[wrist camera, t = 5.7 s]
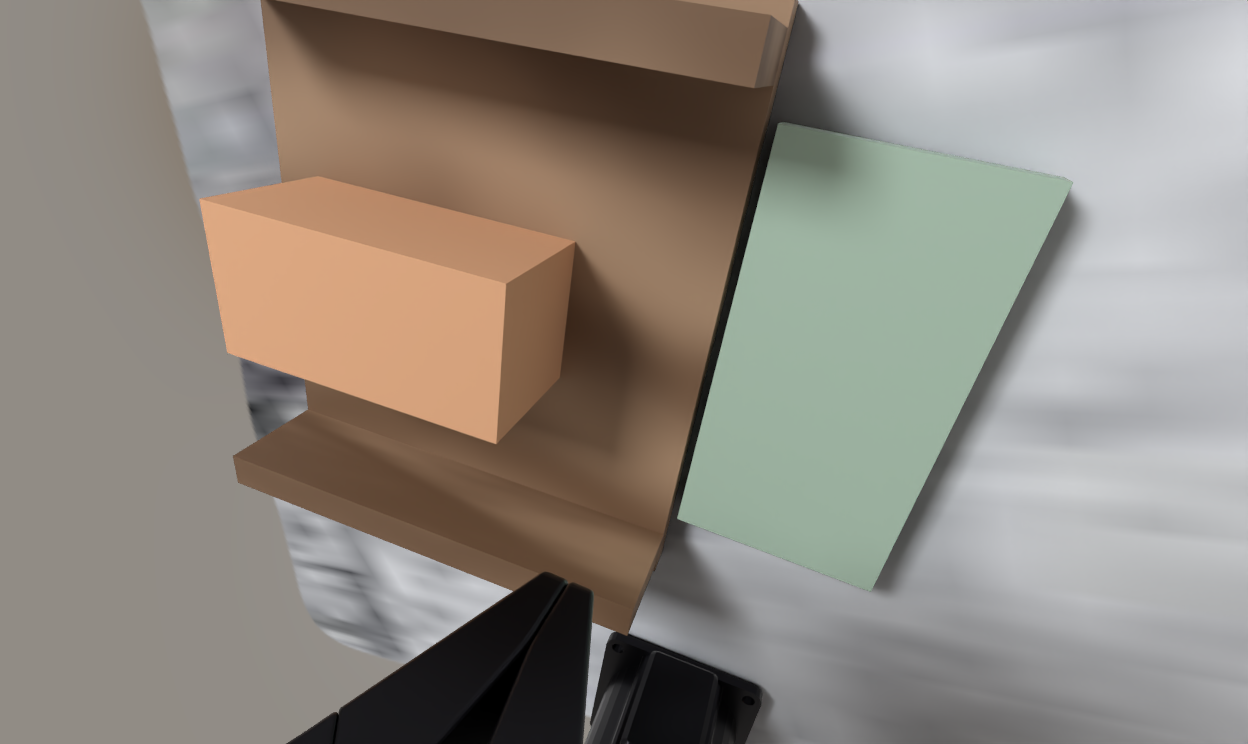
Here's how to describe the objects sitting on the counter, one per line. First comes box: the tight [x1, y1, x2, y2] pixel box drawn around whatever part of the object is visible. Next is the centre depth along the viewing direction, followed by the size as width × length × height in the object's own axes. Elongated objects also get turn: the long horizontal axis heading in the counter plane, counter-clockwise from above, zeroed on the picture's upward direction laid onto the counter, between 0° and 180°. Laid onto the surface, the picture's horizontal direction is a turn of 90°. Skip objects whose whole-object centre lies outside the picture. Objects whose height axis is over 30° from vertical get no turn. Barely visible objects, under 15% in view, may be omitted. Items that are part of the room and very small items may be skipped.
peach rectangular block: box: [200, 176, 576, 444], centre depth 18 cm, size 5×9×4 cm, turn 81°
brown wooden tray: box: [233, 0, 798, 636], centre depth 18 cm, size 18×15×4 cm
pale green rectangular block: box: [677, 122, 1073, 592], centre depth 17 cm, size 13×1×6 cm
